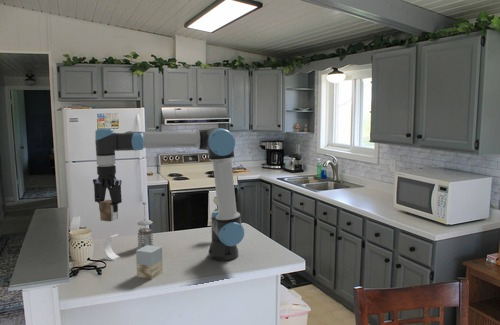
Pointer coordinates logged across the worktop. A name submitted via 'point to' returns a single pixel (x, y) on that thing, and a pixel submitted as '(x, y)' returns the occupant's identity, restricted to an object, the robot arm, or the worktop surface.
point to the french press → (144, 233)
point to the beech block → (149, 270)
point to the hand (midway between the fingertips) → (109, 218)
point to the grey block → (149, 255)
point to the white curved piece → (109, 249)
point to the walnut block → (106, 210)
